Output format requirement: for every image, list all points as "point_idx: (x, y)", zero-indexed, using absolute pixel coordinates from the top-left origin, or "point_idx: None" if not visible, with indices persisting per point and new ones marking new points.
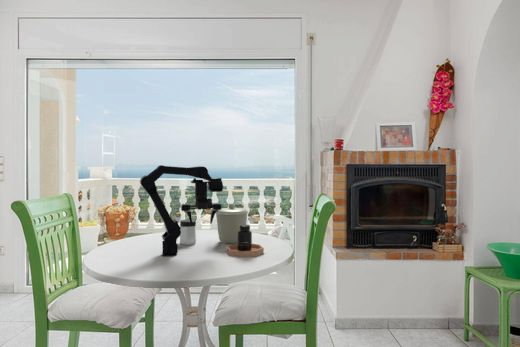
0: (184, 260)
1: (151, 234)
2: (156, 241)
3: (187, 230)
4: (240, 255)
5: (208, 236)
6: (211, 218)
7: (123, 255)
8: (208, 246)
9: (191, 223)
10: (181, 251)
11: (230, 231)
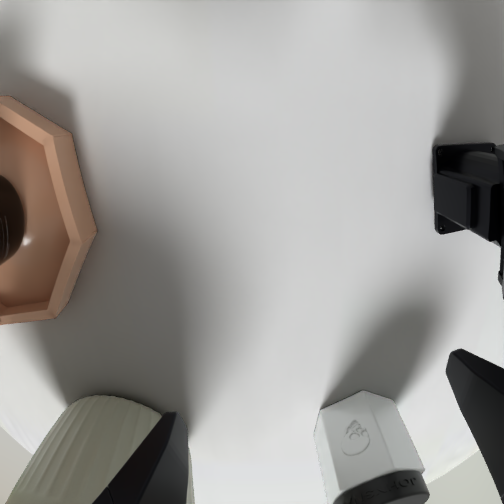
0: (370, 19)
1: (446, 471)
2: None
3: (384, 453)
4: (8, 98)
5: (256, 491)
6: (142, 480)
7: None
8: (238, 366)
9: (471, 359)
10: (405, 253)
11: (91, 441)
